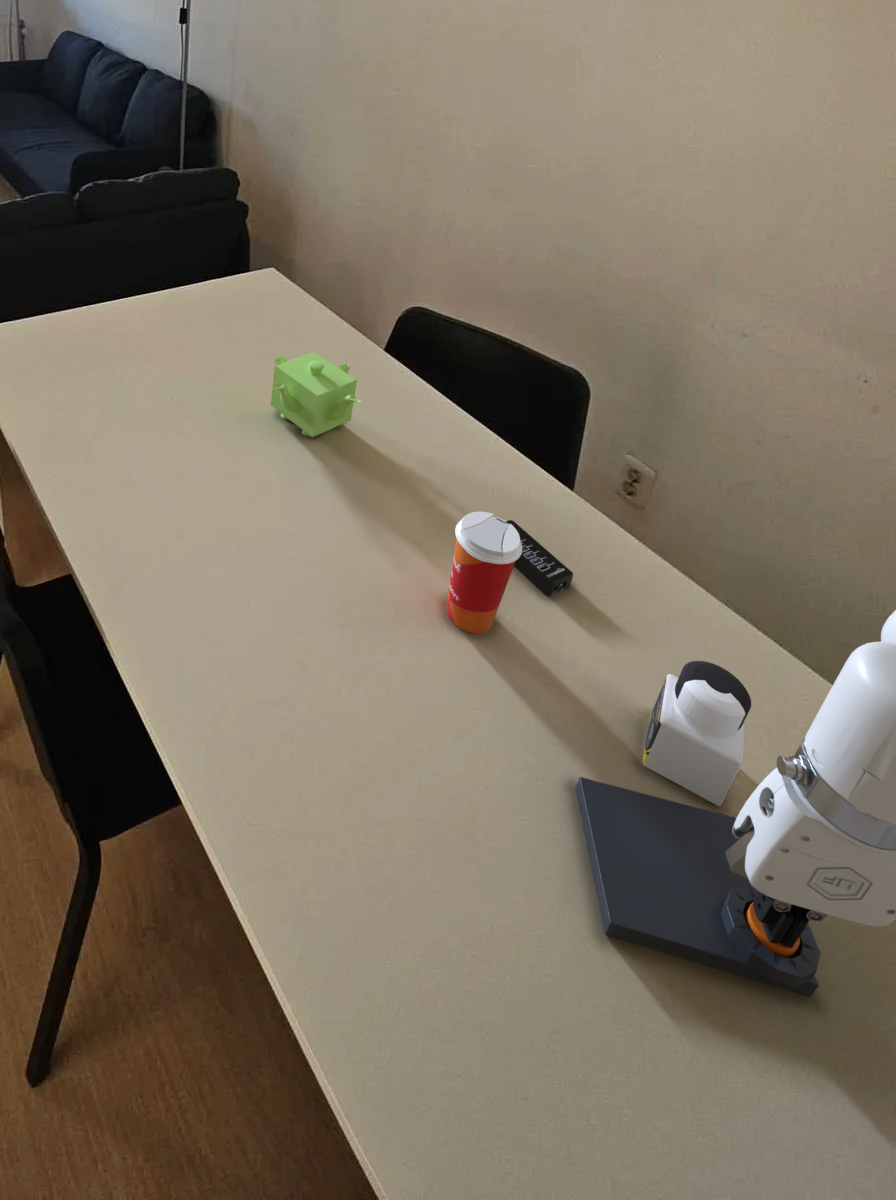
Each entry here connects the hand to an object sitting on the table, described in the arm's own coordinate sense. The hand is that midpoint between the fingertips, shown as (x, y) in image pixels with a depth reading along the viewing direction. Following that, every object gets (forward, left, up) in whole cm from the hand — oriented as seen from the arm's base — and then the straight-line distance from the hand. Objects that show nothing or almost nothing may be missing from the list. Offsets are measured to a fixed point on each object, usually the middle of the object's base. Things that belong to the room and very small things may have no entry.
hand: (772, 924), depth 67 cm
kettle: (+46, -65, -4) cm, 80 cm away
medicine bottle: (+1, -17, -4) cm, 18 cm away
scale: (+5, -4, -4) cm, 7 cm away
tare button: (0, 0, -2) cm, 2 cm away
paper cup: (+22, -30, -4) cm, 37 cm away
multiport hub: (+13, -42, -4) cm, 44 cm away
